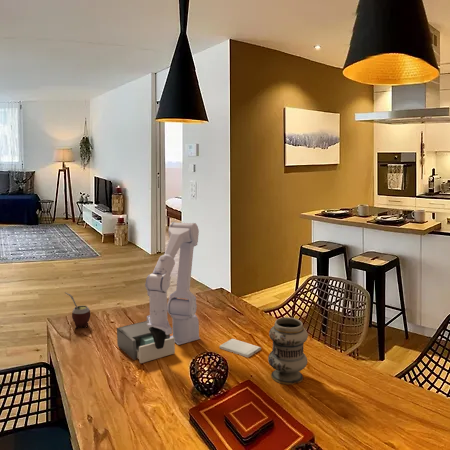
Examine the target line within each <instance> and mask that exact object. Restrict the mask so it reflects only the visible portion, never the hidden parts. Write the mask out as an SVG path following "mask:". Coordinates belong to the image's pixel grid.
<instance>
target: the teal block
mask: <svg viewBox="0 0 450 450" xmlns="http://www.w3.org/2000/svg"><path fill="white" fill-rule="evenodd" d="M150 343H154V339H153V336H152V334H149V335H145V336H142V337H140V346H143V345H147V344H150Z"/></svg>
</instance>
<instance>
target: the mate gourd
mask: <svg viewBox="0 0 450 450" xmlns="http://www.w3.org/2000/svg"><path fill="white" fill-rule="evenodd" d="M64 294H67V295H68V296H69V297H70V299H71V300H72V303H73V304H74V306H75V307H74V308H73V309H72V313H71V318H72V321H73V322H74V325H75V330H78V329H80V328H84V329H89V328H88V325H89V321H90V319H91V310H90V308H89V307H88V306H87V305H77V303H76V301H75V299H74V296H72V295H71V294H70V293H68V292H66V291H65V292H64Z"/></svg>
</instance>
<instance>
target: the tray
mask: <svg viewBox="0 0 450 450" xmlns="http://www.w3.org/2000/svg"><path fill="white" fill-rule="evenodd" d="M134 339H135V340H136V359H138V361H139V364H144V363H147V362H150V361H153V360H157V359H161V358H163V357H164V358H165V357H166V356H170V355H174V354H176V348H175V347H176V345H175V338H174V337H172V338H169V339H165V342H164V346H163V348H161V349H157V348H156V346H155V343H150V344H147V345H143V346H140V337H138V338H134Z"/></svg>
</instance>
